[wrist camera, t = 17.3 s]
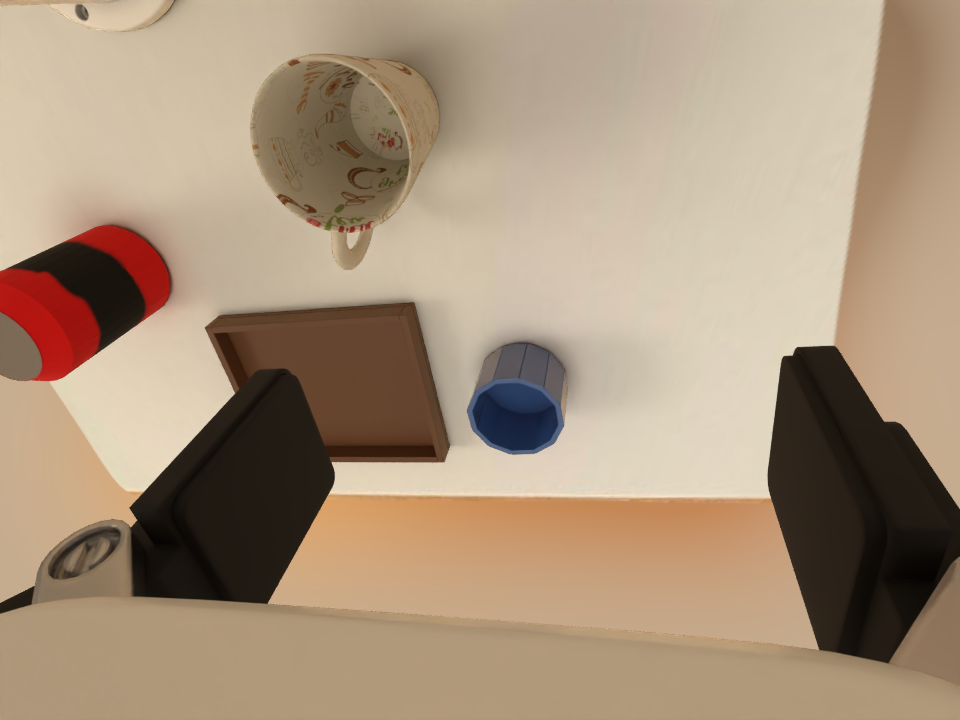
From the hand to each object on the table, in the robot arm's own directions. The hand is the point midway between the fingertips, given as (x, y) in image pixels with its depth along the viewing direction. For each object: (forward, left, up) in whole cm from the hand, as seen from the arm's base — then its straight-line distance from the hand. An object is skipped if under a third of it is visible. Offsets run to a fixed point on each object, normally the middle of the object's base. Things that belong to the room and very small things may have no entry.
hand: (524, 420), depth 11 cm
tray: (+3, -28, -28) cm, 40 cm away
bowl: (+12, -15, -28) cm, 34 cm away
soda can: (-15, -34, -28) cm, 47 cm away
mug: (-7, -10, -28) cm, 31 cm away
